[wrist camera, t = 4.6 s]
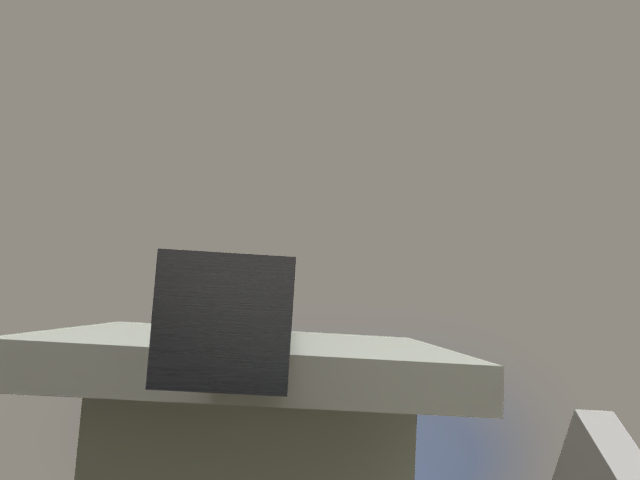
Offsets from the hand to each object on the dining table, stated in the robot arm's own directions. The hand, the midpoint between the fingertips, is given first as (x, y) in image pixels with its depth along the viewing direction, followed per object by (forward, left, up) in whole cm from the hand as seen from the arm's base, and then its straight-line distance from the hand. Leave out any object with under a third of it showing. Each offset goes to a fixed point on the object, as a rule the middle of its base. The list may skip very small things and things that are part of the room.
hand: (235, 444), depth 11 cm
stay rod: (-5, +13, +1) cm, 14 cm away
